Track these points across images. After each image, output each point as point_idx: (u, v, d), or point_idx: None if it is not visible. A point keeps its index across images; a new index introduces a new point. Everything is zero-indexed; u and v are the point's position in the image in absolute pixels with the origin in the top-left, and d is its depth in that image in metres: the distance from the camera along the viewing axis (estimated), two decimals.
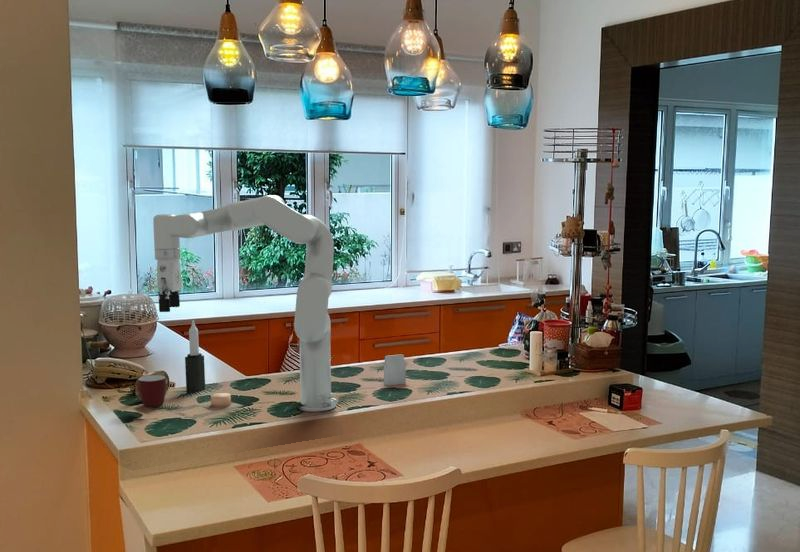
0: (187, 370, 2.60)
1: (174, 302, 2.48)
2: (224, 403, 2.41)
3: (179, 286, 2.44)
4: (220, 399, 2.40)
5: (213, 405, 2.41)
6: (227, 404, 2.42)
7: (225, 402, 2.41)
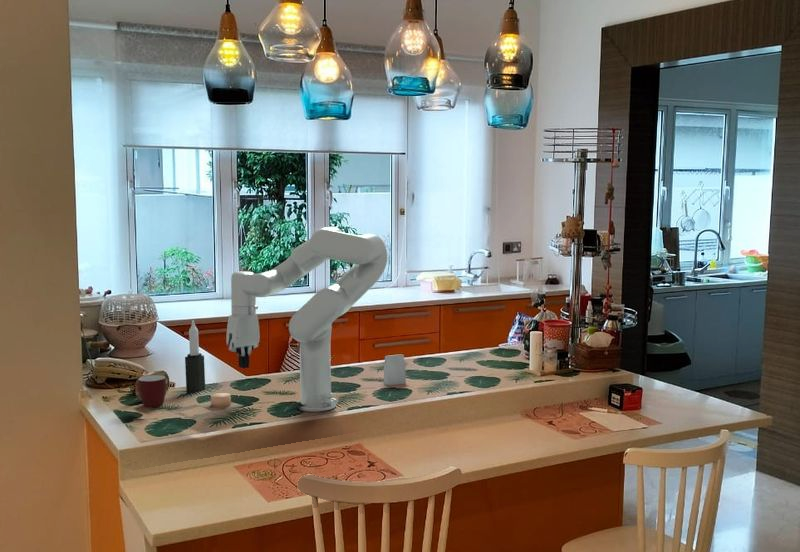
0: (187, 370, 2.60)
1: None
2: (224, 403, 2.41)
3: None
4: (220, 399, 2.40)
5: (213, 405, 2.41)
6: (227, 404, 2.42)
7: (225, 402, 2.41)
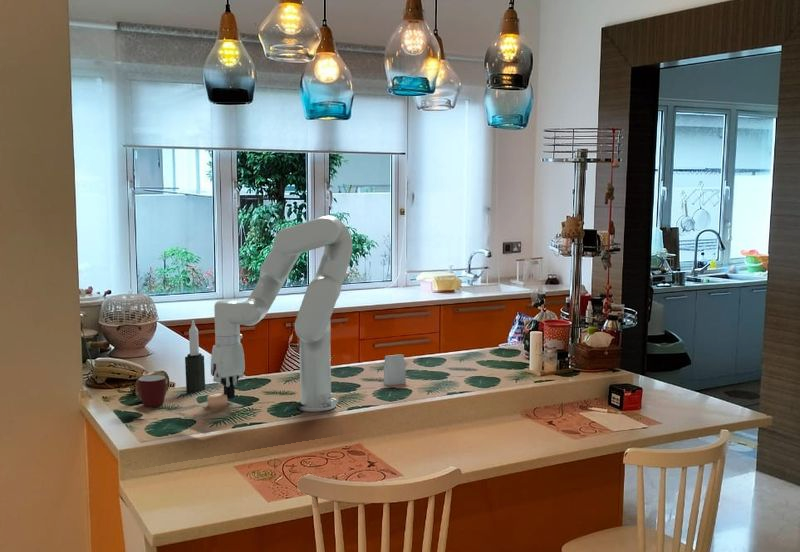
0: (187, 370, 2.60)
1: None
2: (221, 404, 2.40)
3: None
4: (217, 400, 2.39)
5: (210, 406, 2.40)
6: (224, 405, 2.41)
7: (222, 403, 2.40)
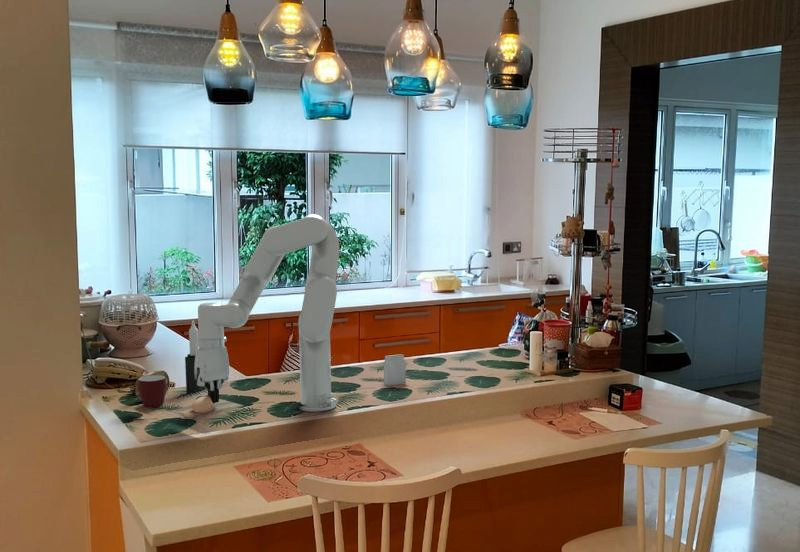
0: (187, 370, 2.60)
1: None
2: (207, 410, 2.36)
3: None
4: (202, 408, 2.35)
5: None
6: (210, 409, 2.37)
7: (208, 408, 2.36)
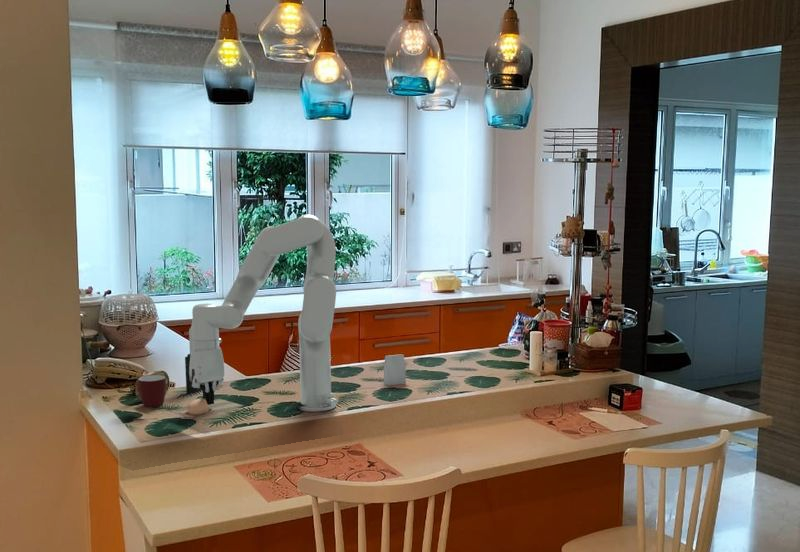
0: (187, 370, 2.60)
1: None
2: (202, 412, 2.34)
3: None
4: (197, 409, 2.34)
5: None
6: (205, 411, 2.35)
7: (203, 410, 2.35)
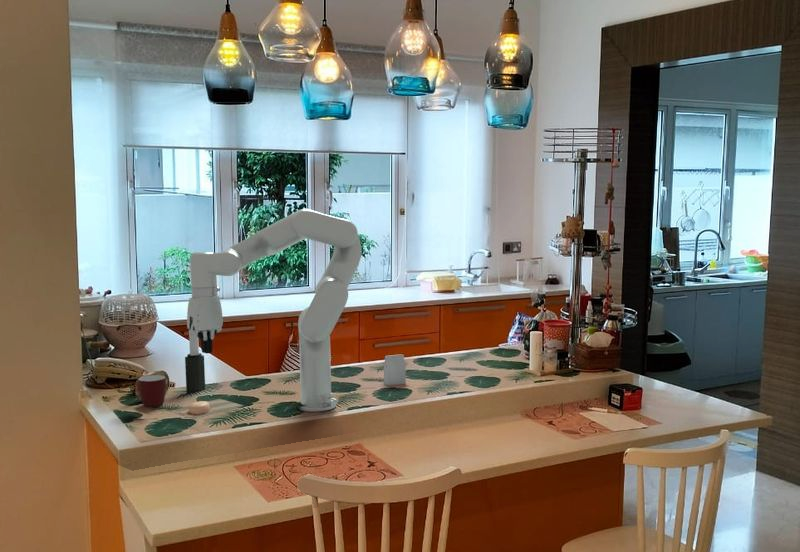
0: (187, 370, 2.60)
1: None
2: None
3: None
4: (198, 410, 2.34)
5: None
6: None
7: (204, 412, 2.35)
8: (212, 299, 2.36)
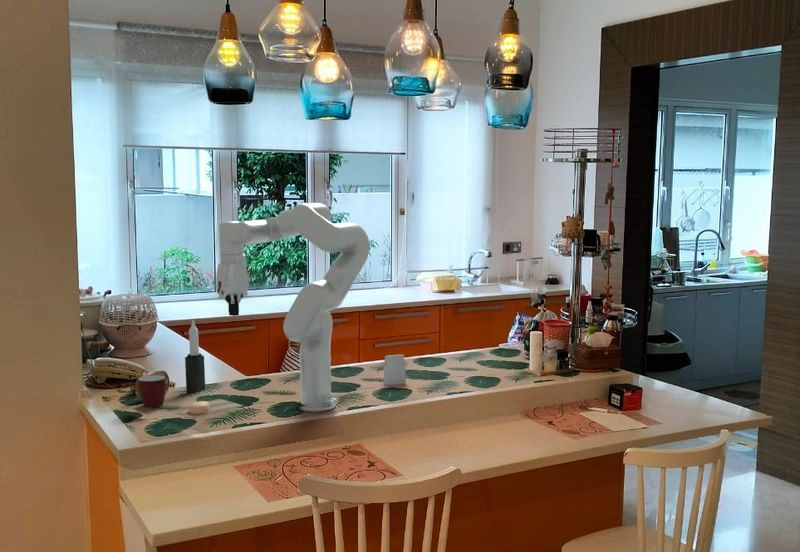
0: (187, 370, 2.60)
1: None
2: None
3: None
4: (198, 410, 2.34)
5: None
6: None
7: (204, 412, 2.35)
8: (239, 265, 2.54)
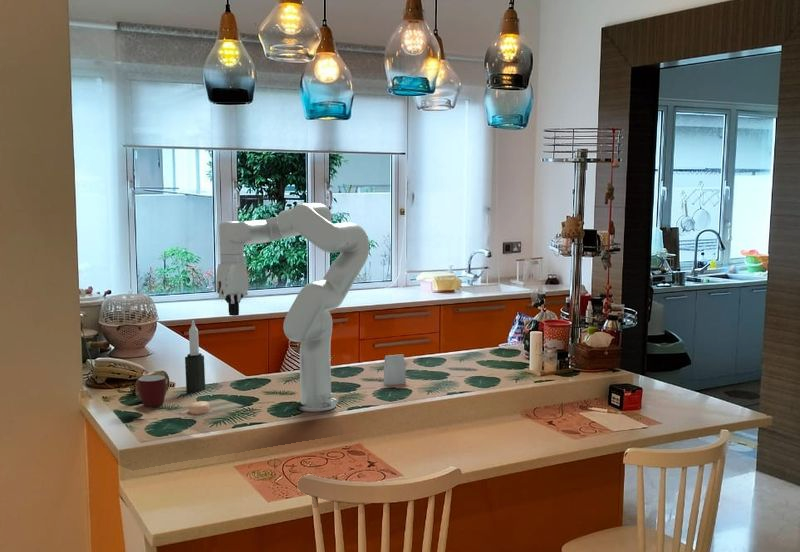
0: (187, 370, 2.60)
1: None
2: None
3: None
4: (198, 410, 2.34)
5: None
6: None
7: (204, 412, 2.35)
8: (239, 265, 2.54)
